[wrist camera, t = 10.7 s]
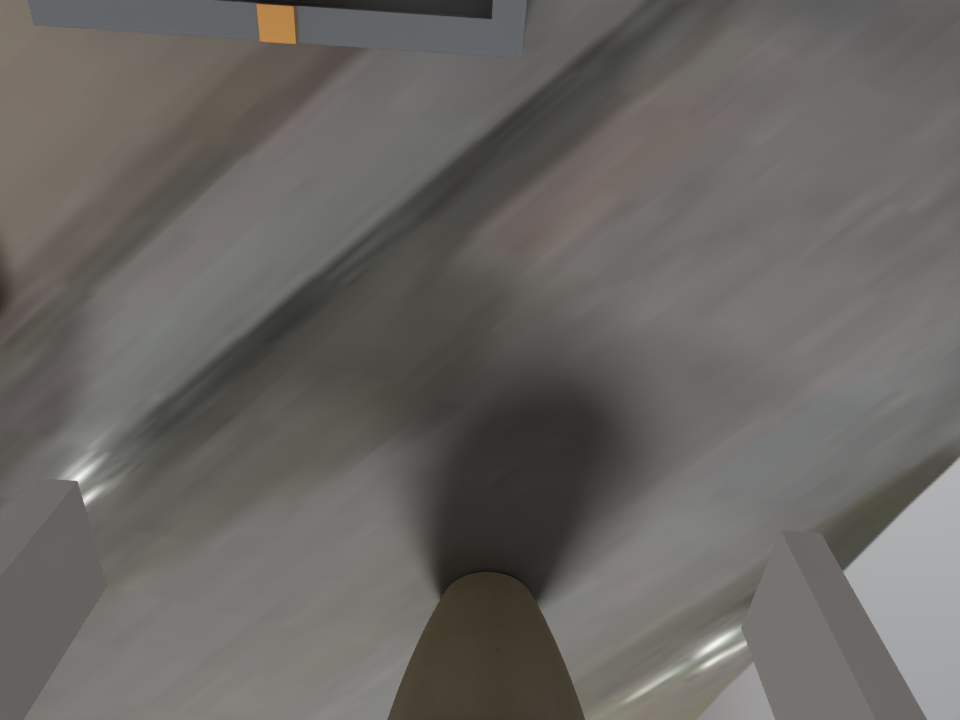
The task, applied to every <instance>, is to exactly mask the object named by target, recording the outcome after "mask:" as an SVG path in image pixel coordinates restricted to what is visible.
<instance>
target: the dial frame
mask: <svg viewBox="0 0 960 720" xmlns="http://www.w3.org/2000/svg"><path fill="white" fill-rule="evenodd" d="M28 3H29V7H30V11H31V15H32V19H33V23H34V25H39V26H53V27H68V28H83V29H98V30H113V31H128V32H142V33H157V34H172V35H187V36H202V37H216V38H231V39H246V40H260V42H274V43H289V44H297V43H305V44H320V45H335V46H350V47H365V48H379V49H394V50H409V51H424V52H439V53H453V54H468V55H483V56H498V57H513V58H522V54H523V42H524V30H525V19H526V7H527V0H28Z"/></svg>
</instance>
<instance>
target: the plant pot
mask: <svg viewBox="0 0 960 720" xmlns="http://www.w3.org/2000/svg"><path fill="white" fill-rule="evenodd" d="M388 720H585V718H584V715H583V712H582V709H581V706H580V703H579V700H578V697H577V695H576V692H575V689H574V686H573V684H572V681H571V678H570V676H569V673H568V670H567V668H566V665H565V663H564V660H563V658H562V656H561V653H560V651H559V649H558V646H557V644H556V642H555V639H554V637H553V635H552V633H551V631H550V629H549V627H548V625H547V622H546V620H545V618H544V616H543V614H542V612H541V611H540V609H539V607H538V605H537V603H536V601H535V599H534V598H533V596H532V594H531V592H530V591H529V589H528V588H527V587H526V586H525V585H524V584H523V583H522V582H520V581H519V580H517V579H515V578H513V577H511V576H509V575H506V574H502V573H496V572H478V573H473V574H468V575H466V576H463V577H461V578H459V579H457V580H456V581H454V582H453V583H452V584H451V585H450V586H449V587H448V588H447V589H446V591H445V593H444V594H443V596H442V598H441V599H440V601H439V603H438V605H437V606H436V608H435V610H434V612H433V614H432V615H431V617H430V619H429V621H428V623H427V625H426V627H425V629H424V631H423V633H422V635H421V637H420V639H419V641H418V644H417V646H416V648H415V650H414V652H413V655H412V657H411V659H410V662H409V664H408V666H407V669H406V671H405V674H404V676H403V679H402V681H401V684H400V686H399V689H398V691H397V694H396V697H395V700H394V703H393V705H392V708H391V711H390V714H389V717H388Z"/></svg>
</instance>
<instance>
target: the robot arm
mask: <svg viewBox="0 0 960 720" xmlns="http://www.w3.org/2000/svg"><path fill="white" fill-rule="evenodd" d="M106 586H107V582H106V578H105V575H104V571H103V568H102V564H101V561H100V558H99V554H98V551H97V547H96V544H95V540H94V537H93V533H92V530H91V527H90V523H89V520H88V516H87V513H86V509H85V506H84V502H83V499H82V496H81V492H80V489H79V485H78V482H77V481H69V480H54V479H40V478H35V479H34V480H33V481H32V482H31V484H30V485H29V486H28V487H27V488H26V489H25V490H24V491H23V492H22V494H21V495H20V496H19V497H18V498H17V499H16V500H15V501H14V503H13V504H12V505H11V506H10V507H9V508H8V509H7V510H6V512H5V513H4V514H3V515H2V516H1V517H0V720H23V719H24V718H25V716H26V714H27V713H28V711H29V710H30V708H31V706H32V705H33V703H34V702H35V700H36V698H37V697H38V695H39V694H40V692H41V690H42V689H43V687H44V686H45V684H46V682H47V681H48V679H49V678H50V676H51V674H52V673H53V671H54V670H55V668H56V666H57V665H58V663H59V662H60V660H61V658H62V657H63V655H64V654H65V652H66V650H67V649H68V647H69V646H70V644H71V642H72V641H73V639H74V638H75V636H76V634H77V633H78V631H79V630H80V628H81V626H82V625H83V623H84V622H85V620H86V618H87V617H88V615H89V614H90V612H91V610H92V609H93V607H94V606H95V604H96V602H97V601H98V599H99V598H100V596H101V594H102V593H103V591H104V590H105V588H106ZM741 628H742V631H743V633H744V636H745V639H746V642H747V644H748V647H749V650H750V652H751V655H752V658H753V660H754V663H755V666H756V668H757V671H758V674H759V677H760V679H761V682H762V685H763V687H764V690H765V693H766V696H767V698H768V701H769V704H770V706H771V709H772V712H773V715H774V717H775V719H776V720H927V719H926V717H925V715H924V714H923V712H922V710H921V708H920V707H919V705H918V703H917V701H916V700H915V698H914V696H913V694H912V693H911V691H910V689H909V687H908V686H907V684H906V682H905V680H904V679H903V677H902V675H901V673H900V672H899V670H898V668H897V666H896V665H895V663H894V661H893V659H892V658H891V656H890V654H889V652H888V650H887V649H886V647H885V645H884V644H883V642H882V640H881V638H880V636H879V635H878V633H877V631H876V629H875V628H874V626H873V624H872V622H871V621H870V619H869V617H868V615H867V614H866V612H865V610H864V608H863V607H862V605H861V603H860V601H859V600H858V598H857V596H856V595H855V593H854V591H853V589H852V587H851V586H850V584H849V582H848V580H847V579H846V577H845V575H844V573H843V572H842V570H841V568H840V566H839V564H838V563H837V561H836V559H835V557H834V556H833V554H832V552H831V550H830V549H829V547H828V545H827V543H826V542H825V540H824V538H823V536H822V535H821V534H818V533H804V532H790V531H781V532H780V534H779V537H778V539H777V541H776V544H775V546H774V549H773V551H772V554H771V556H770V559H769V561H768V564H767V566H766V568H765V571H764V573H763V576H762V578H761V581H760V583H759V586H758V588H757V591H756V593H755V595H754V598H753V600H752V603H751V605H750V608H749V610H748V613H747V615H746V618H745V620H744V623H743V625H742V627H741Z"/></svg>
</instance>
